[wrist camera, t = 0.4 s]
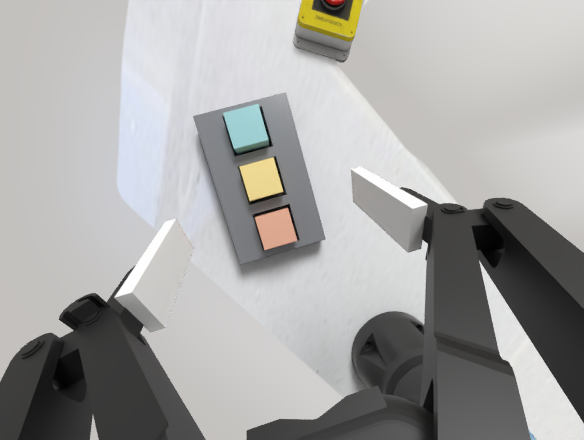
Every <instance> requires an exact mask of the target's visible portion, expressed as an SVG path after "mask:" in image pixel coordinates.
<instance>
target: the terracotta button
mask: <svg viewBox="0 0 584 440" xmlns="http://www.w3.org/2000/svg"><path fill="white" fill-rule="evenodd" d="M255 220H256V223H257V227H258V230H259V233H260V236H261V240H262V243H263V246H264V250H267V249H271V248H274V247H277V246H281V245H284V244H288V243H291V242H294V241H297V238H296V234H295V231H294V227H293V224H292V220H291V217H290V213H289V210H288V208H284V209H281V210H277V211H274V212H270V213H267V214H263V215H260V216H256V217H255Z"/></svg>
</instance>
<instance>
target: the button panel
mask: <svg viewBox="0 0 584 440" xmlns="http://www.w3.org/2000/svg"><path fill="white" fill-rule="evenodd" d="M255 104H258V105H259V108H260V112H261V115H263V116H264V120H265V123H266V127H267V131H268V134H269V138H270V141H271V145H272V147H268V148H265V149H261V150H257V151H254V152H250V153H246V154H242V155H239V156H236V152H235V150H234V147H233V144H232V141H231V138H230V134H229V131H228V128H227V124H226V121H225V118H224V114H223V113H224V112H228V111H232V110H236V109H240V108H244V107H248V106H252V105H255ZM193 118H194V121H195V124H196V127H197V130H198V133H199V137H200V140H201V143H202V146H203V149H204V152H205V155H206V159H207V162H208V165H209V168H210V171H211V174H212V177H213V181H214V184H215V187H216V190H217V193H218V196H219V199H220V203H221V206H222V209H223V212H224V215H225V218H226V221H227V225H228V228H229V231H230V234H231V237H232V240H233V243H234V247H235V250H236V253H237V256H238V259H239V262H240V265H241V264H244V263H248V262H251V261H254V260H258V259H261V258H264V257H268V256H271V255H275V254H278V253H281V252H285V251H288V250H291V249H295V248H298V247H301V246H305V245H308V244H311V243H315V242H318V241H321V240H325V235H324V231H323V228H322V224H321V220H320V217H319V213H318V209H317V206H316V202H315V198H314V195H313V191H312V187H311V183H310V180H309V176H308V172H307V169H306V165H305V161H304V158H303V154H302V150H301V147H300V143H299V139H298V136H297V132H296V128H295V124H294V121H293V117H292V113H291V110H290V106H289V102H288V99H287V95H286V93H282V94H278V95H274V96H270V97H266V98H262V99H258V100H254V101H251V102H247V103H243V104H239V105H235V106H231V107H227V108H223V109H219V110H215V111H212V112H208V113H204V114H200V115H196V116H193ZM273 157H274V161H275V160H276V162H277V166H278V169H279V173H280V176H281V180H282V183H283V187H284V190H285V194H286V195H283V196H280V197H276V198H272V199H269V200H265V201H262V202H258V203H255V204H251V202H250V200H249V197H248V194H247V190H246V187H245V184H244V180H243V177H242V174H241V171H240V166H243V165H247V164H251V163H254V162H258V161H262V160H265V159H269V158H273ZM287 204H289V208H290V211H291V215H292V218H293V222H294V225H295V229H296V232H297V236H298V237H297V241H294V242H291V243H288V244H284V245H281V246H277V247H274V248H271V249H267V250H264V246H263V243H262V240H261V236H260V233H259V230H258V227H257V223H256V220H255V215H254V214H256V213H259V212H263V211H266V210H270V209H273V208H277V207H280V206H284V205H287Z"/></svg>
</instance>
